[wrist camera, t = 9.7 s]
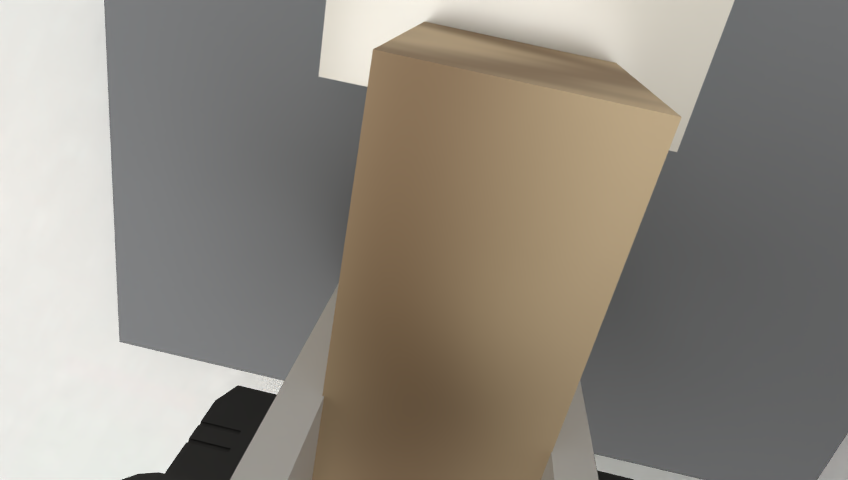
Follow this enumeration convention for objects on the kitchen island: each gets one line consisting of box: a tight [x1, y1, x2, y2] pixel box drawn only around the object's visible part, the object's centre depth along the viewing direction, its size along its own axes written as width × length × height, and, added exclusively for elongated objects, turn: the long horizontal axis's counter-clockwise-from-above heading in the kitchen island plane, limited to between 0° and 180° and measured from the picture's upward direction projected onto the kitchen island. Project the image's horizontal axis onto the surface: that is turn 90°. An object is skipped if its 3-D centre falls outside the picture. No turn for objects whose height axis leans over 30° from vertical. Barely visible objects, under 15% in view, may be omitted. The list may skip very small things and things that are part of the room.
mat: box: [104, 0, 848, 480], centre depth 15 cm, size 22×18×1 cm
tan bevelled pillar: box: [312, 22, 682, 480], centre depth 13 cm, size 4×14×5 cm, turn 169°
